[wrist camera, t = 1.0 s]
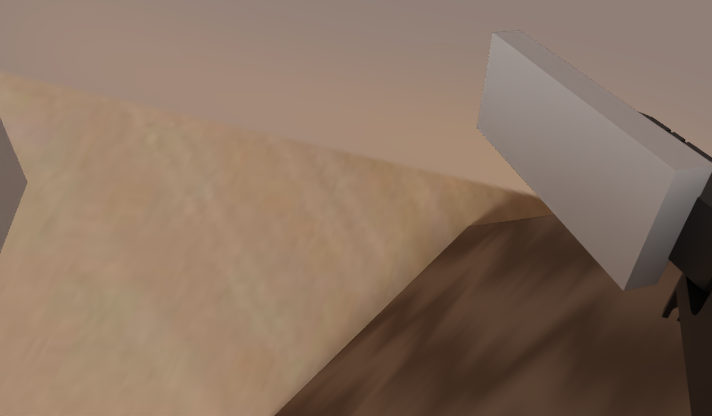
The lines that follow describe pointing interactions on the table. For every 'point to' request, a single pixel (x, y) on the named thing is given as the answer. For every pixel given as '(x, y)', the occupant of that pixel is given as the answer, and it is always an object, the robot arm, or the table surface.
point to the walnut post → (511, 337)
